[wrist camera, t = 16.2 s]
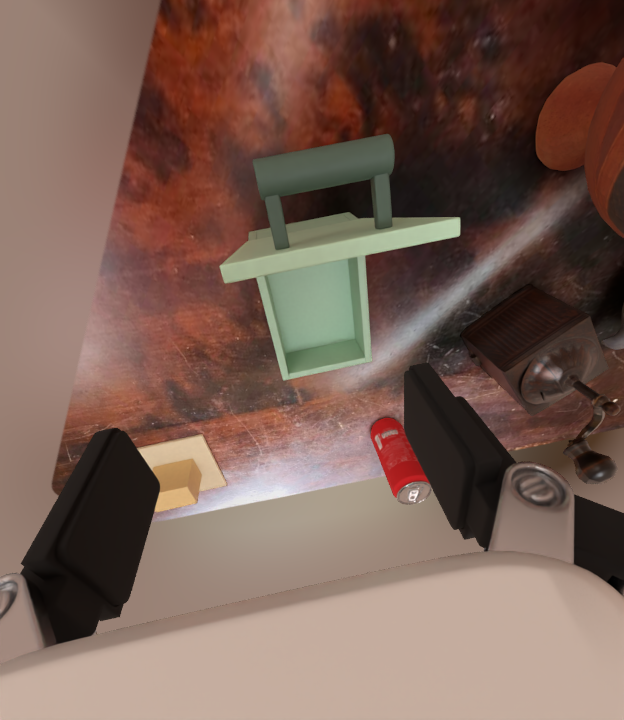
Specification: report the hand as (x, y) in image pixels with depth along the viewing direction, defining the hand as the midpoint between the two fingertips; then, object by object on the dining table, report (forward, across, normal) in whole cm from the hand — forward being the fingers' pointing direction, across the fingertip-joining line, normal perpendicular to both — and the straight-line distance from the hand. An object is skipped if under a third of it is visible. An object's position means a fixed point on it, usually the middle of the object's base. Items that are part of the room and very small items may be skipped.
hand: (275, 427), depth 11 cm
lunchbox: (+28, -4, +7) cm, 29 cm away
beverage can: (+28, -12, +32) cm, 44 cm away
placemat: (+28, +21, +31) cm, 47 cm away
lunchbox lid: (+14, -4, -2) cm, 15 cm away
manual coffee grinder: (+28, -31, +21) cm, 47 cm away
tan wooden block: (+27, +21, +31) cm, 46 cm away
